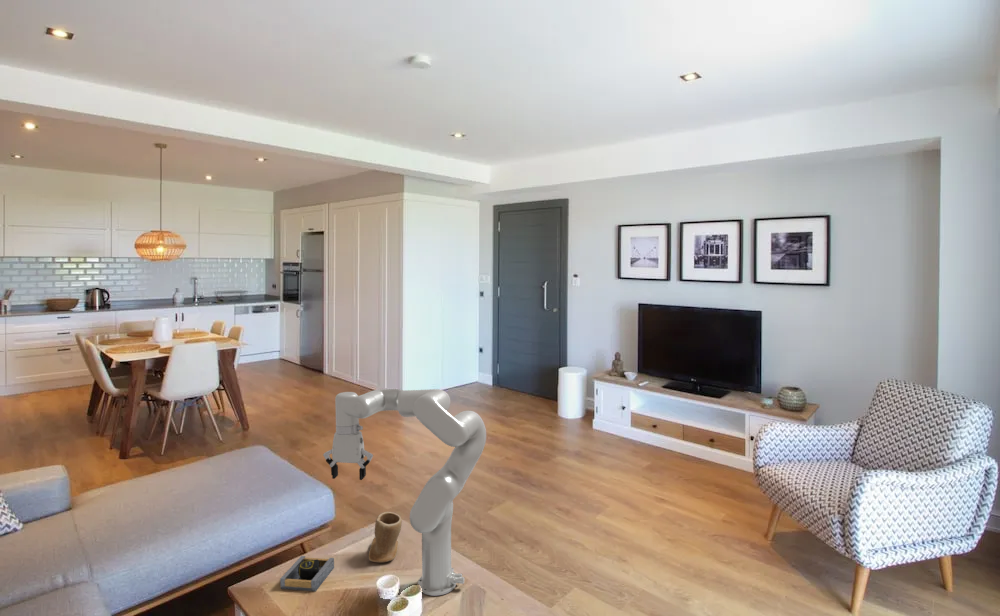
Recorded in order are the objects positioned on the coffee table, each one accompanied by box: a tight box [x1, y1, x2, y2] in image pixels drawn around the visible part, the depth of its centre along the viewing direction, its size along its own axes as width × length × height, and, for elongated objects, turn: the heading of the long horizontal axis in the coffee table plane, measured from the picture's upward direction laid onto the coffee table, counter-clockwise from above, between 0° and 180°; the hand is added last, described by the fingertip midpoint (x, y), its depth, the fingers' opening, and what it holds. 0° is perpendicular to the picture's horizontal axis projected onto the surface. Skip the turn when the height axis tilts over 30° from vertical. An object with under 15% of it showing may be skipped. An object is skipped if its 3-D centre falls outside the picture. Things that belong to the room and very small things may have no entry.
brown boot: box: [368, 511, 403, 563], centre depth 196 cm, size 15×12×15 cm
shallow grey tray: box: [279, 555, 335, 592], centre depth 181 cm, size 12×14×4 cm
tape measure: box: [298, 559, 320, 578], centre depth 181 cm, size 7×7×4 cm
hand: (348, 477), depth 185 cm, fingers open, 9 cm apart
